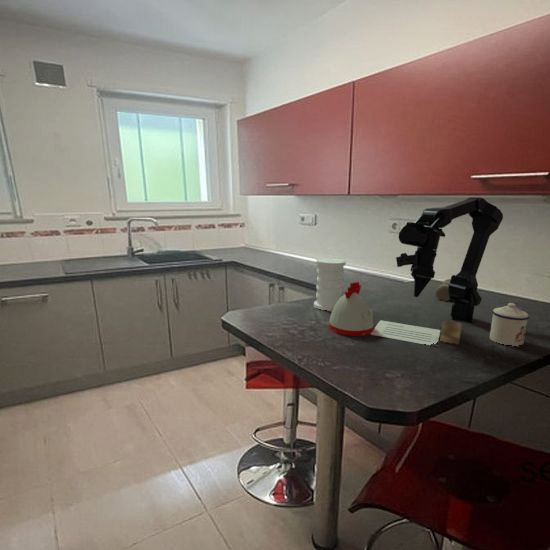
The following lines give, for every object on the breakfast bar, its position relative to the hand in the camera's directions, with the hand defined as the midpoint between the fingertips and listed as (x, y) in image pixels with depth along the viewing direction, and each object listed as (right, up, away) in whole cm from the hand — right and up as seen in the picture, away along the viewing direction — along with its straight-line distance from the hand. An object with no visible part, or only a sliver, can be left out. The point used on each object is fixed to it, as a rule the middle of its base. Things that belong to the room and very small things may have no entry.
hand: (415, 296), depth 116 cm
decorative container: (-24, -5, +24) cm, 35 cm away
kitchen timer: (-20, -10, +1) cm, 23 cm away
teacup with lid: (+25, -13, -6) cm, 29 cm away
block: (+7, -13, -7) cm, 16 cm away
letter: (-4, -11, -2) cm, 12 cm away
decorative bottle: (+32, -2, +44) cm, 55 cm away
